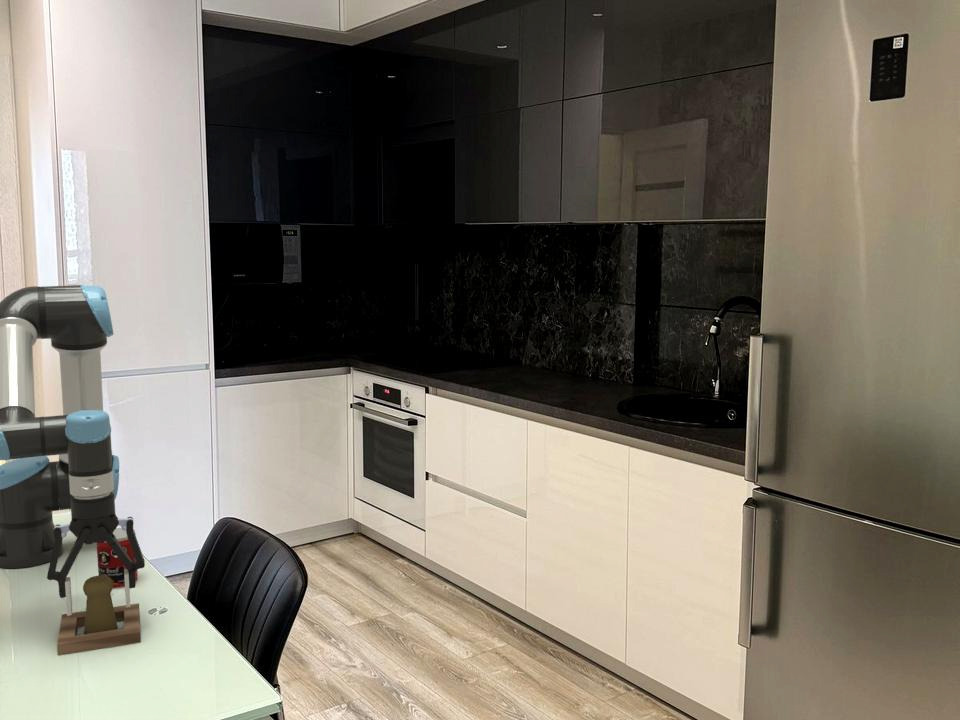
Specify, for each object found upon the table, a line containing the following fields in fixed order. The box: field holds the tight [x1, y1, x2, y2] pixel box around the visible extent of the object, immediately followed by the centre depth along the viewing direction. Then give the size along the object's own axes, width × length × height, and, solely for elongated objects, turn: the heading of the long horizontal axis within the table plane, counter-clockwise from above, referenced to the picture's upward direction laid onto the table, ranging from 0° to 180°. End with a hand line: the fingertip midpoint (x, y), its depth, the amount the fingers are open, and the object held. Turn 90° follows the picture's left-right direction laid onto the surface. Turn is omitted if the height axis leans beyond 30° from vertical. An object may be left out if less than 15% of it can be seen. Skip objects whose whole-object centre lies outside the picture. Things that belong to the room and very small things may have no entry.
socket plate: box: [56, 603, 142, 656], centre depth 168 cm, size 14×14×2 cm
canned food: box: [96, 527, 139, 589], centre depth 192 cm, size 8×8×11 cm
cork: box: [82, 574, 119, 635], centre depth 167 cm, size 6×6×11 cm
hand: (99, 608), depth 167 cm, fingers open, 9 cm apart
